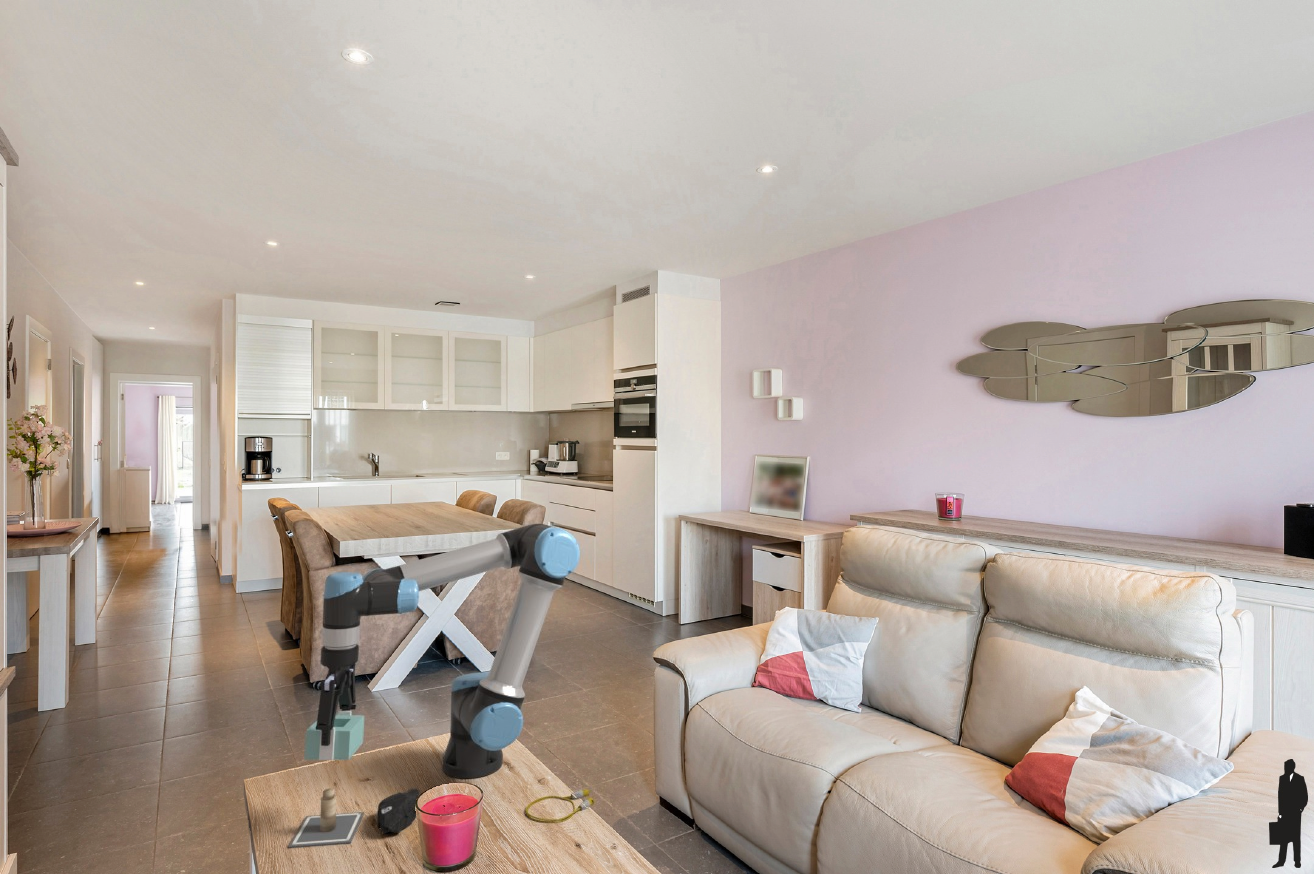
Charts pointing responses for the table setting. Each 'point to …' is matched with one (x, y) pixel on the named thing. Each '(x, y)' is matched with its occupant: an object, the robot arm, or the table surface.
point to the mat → (314, 837)
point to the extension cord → (578, 794)
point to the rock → (397, 811)
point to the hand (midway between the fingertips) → (335, 749)
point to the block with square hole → (337, 737)
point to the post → (328, 811)
